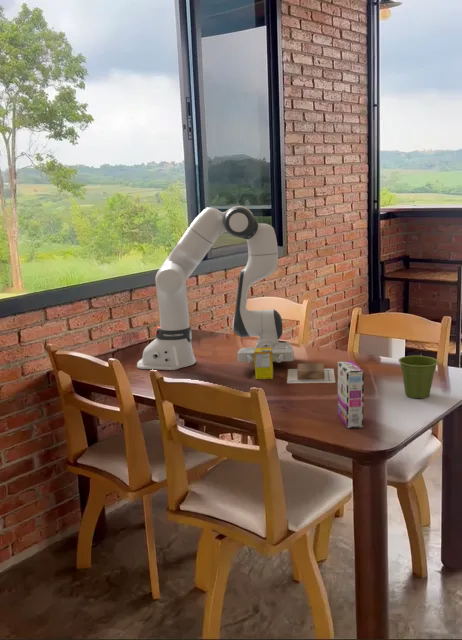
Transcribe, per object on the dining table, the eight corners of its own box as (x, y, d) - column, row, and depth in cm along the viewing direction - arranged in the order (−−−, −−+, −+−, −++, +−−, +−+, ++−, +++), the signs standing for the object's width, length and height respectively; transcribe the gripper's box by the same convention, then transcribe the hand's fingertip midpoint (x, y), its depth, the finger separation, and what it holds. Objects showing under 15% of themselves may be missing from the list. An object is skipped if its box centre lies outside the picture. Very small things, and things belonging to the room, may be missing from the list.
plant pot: (431, 403, 199) (432, 367, 197) (393, 398, 205) (393, 363, 203) (442, 392, 209) (442, 357, 207) (405, 387, 215) (405, 353, 213)
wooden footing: (297, 379, 224) (297, 371, 224) (298, 371, 233) (297, 363, 233) (324, 379, 223) (324, 370, 223) (323, 371, 232) (323, 363, 232)
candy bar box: (364, 427, 183) (364, 370, 180) (347, 429, 183) (346, 372, 179) (354, 413, 194) (353, 359, 191) (337, 415, 194) (336, 361, 190)
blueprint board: (287, 386, 222) (286, 382, 221) (288, 372, 237) (288, 368, 237) (335, 386, 220) (335, 382, 220) (333, 371, 235) (333, 368, 235)
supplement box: (273, 376, 233) (272, 346, 231) (272, 382, 227) (271, 351, 225) (256, 377, 234) (255, 347, 231) (255, 382, 228) (254, 351, 226)
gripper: (238, 342, 246) (234, 352, 232) (293, 341, 243) (293, 351, 230) (239, 359, 247) (235, 369, 234) (294, 358, 245) (293, 369, 231)
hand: (264, 360), depth 232 cm, fingers open, 8 cm apart
